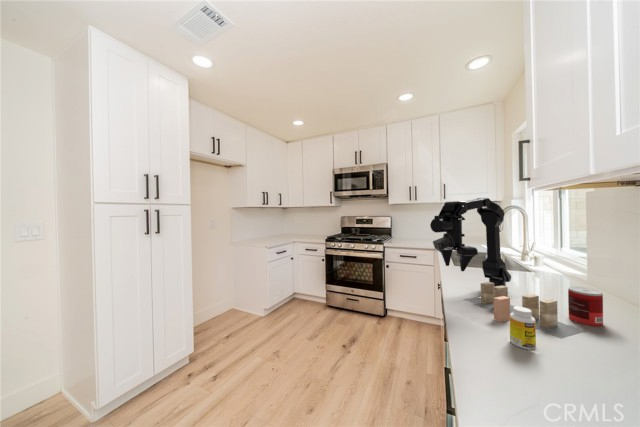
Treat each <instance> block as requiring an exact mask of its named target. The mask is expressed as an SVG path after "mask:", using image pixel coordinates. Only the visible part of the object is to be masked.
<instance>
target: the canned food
mask: <svg viewBox="0 0 640 427" xmlns="http://www.w3.org/2000/svg"><path fill="white" fill-rule="evenodd" d="M567 288H568V289H567V290H568V291H567V298H568V302H567V303H568V308H567V309H568V318H569V319H570V320H571V321H573V322H575V323H578V324H582V325H584V326H590V327H602V326H603V325H604V297H603V296H604V294H603V292H602V291H600V290H597V289H594V288H589V287H584V286H569V287H567Z"/></svg>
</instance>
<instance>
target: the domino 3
mask: <svg viewBox="0 0 640 427" xmlns="http://www.w3.org/2000/svg"><path fill="white" fill-rule="evenodd" d="M510 305H511V298H510V296H508V297H506V296H501V297H495V298H494V311H493V320H495V321H498V322H505V321H510Z"/></svg>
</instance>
